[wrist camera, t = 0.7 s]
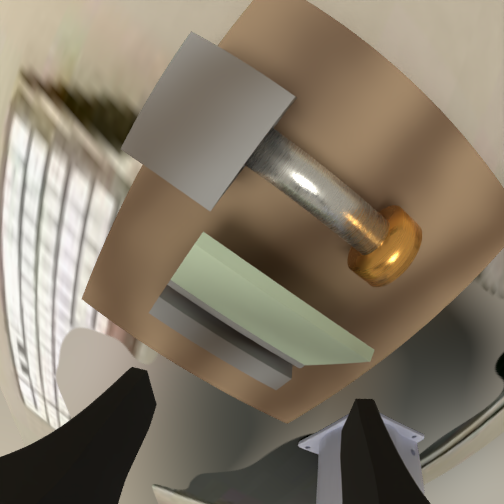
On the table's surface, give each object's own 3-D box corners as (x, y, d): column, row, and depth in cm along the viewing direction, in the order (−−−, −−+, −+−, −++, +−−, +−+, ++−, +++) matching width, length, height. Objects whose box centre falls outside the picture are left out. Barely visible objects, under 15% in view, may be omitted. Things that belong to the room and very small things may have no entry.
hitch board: (516, 215, 14) (568, 257, 9) (288, 413, 24) (282, 470, 19) (272, -14, 11) (257, -61, 7) (88, 291, 21) (46, 338, 16)
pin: (408, 211, 14) (432, 242, 11) (361, 261, 15) (372, 301, 12) (267, 96, 13) (257, 95, 10) (223, 158, 14) (201, 175, 11)
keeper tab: (375, 345, 13) (368, 365, 13) (302, 354, 19) (295, 368, 19) (205, 227, 12) (191, 248, 12) (175, 271, 18) (165, 286, 17)
